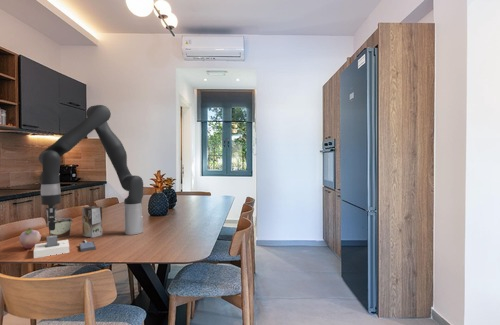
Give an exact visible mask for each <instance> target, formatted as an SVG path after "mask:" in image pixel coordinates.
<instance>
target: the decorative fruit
mask: <svg viewBox="0 0 500 325" xmlns="http://www.w3.org/2000/svg"><path fill="white" fill-rule="evenodd" d="M41 238H42V235H41V233H40V232H39V230H35V229H32V228H31V229H30V227H28V229H26V230H24V231H22V233H20V235H19V237H18V240H19V244H20V245H21V246H22V247H24V248H26V249H31V248H33V247H35V244H40V241H41Z"/></svg>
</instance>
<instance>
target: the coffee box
mask: <svg viewBox="0 0 500 325" xmlns="http://www.w3.org/2000/svg"><path fill="white" fill-rule="evenodd" d="M81 210H82V211H81V213H82V215H81V216H82V220H81V221H82V237H87V238H92V239H93V238H97V237H101V236H103V207H102V206H96V205H95V206H94V205H90V206H84V207H82V208H81Z"/></svg>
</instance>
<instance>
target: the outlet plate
mask: <svg viewBox="0 0 500 325" xmlns="http://www.w3.org/2000/svg"><path fill="white" fill-rule="evenodd" d="M62 253H63V254H68V253H70V241H69V239H63V240H57V246H53V247H47V242H42V243H37V244H35V246H34V249H33V259H38V258H39V259H40V258H43V257H49V256H50V255H51V256H57V255H63V254H62ZM56 254H57V255H56Z"/></svg>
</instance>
